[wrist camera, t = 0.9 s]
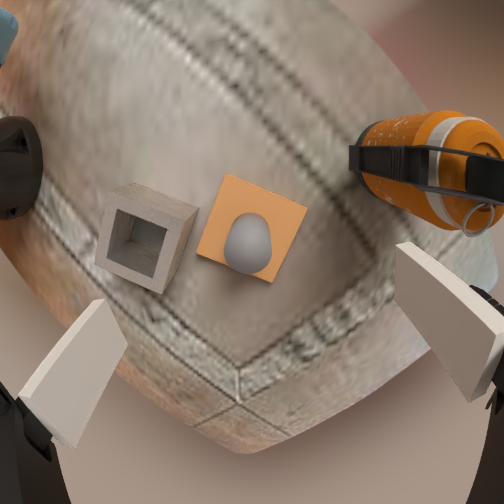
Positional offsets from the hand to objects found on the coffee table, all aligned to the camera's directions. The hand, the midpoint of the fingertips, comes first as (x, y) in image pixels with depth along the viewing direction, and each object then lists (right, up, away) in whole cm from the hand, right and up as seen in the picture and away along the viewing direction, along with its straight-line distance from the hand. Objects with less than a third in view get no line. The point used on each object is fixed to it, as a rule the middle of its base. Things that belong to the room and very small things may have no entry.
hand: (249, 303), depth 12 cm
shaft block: (0, +5, +19) cm, 20 cm away
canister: (+14, +12, +16) cm, 25 cm away
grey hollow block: (-11, +5, +19) cm, 23 cm away
